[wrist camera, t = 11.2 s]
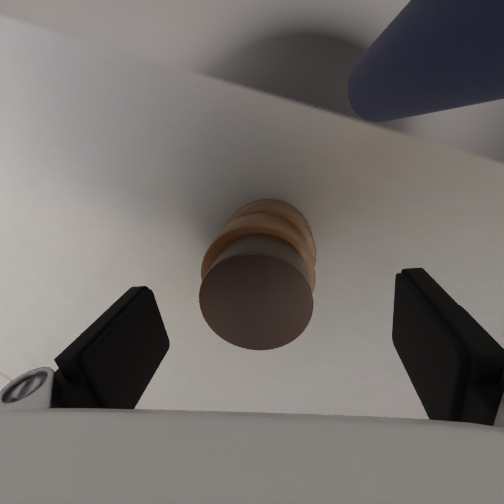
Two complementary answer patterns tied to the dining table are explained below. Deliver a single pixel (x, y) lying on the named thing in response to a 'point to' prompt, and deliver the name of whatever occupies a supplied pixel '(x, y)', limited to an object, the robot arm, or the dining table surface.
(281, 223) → the pile chip top
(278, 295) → the walnut chip
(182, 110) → the dining table surface
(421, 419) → the robot arm
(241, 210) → the pile chip bottom
